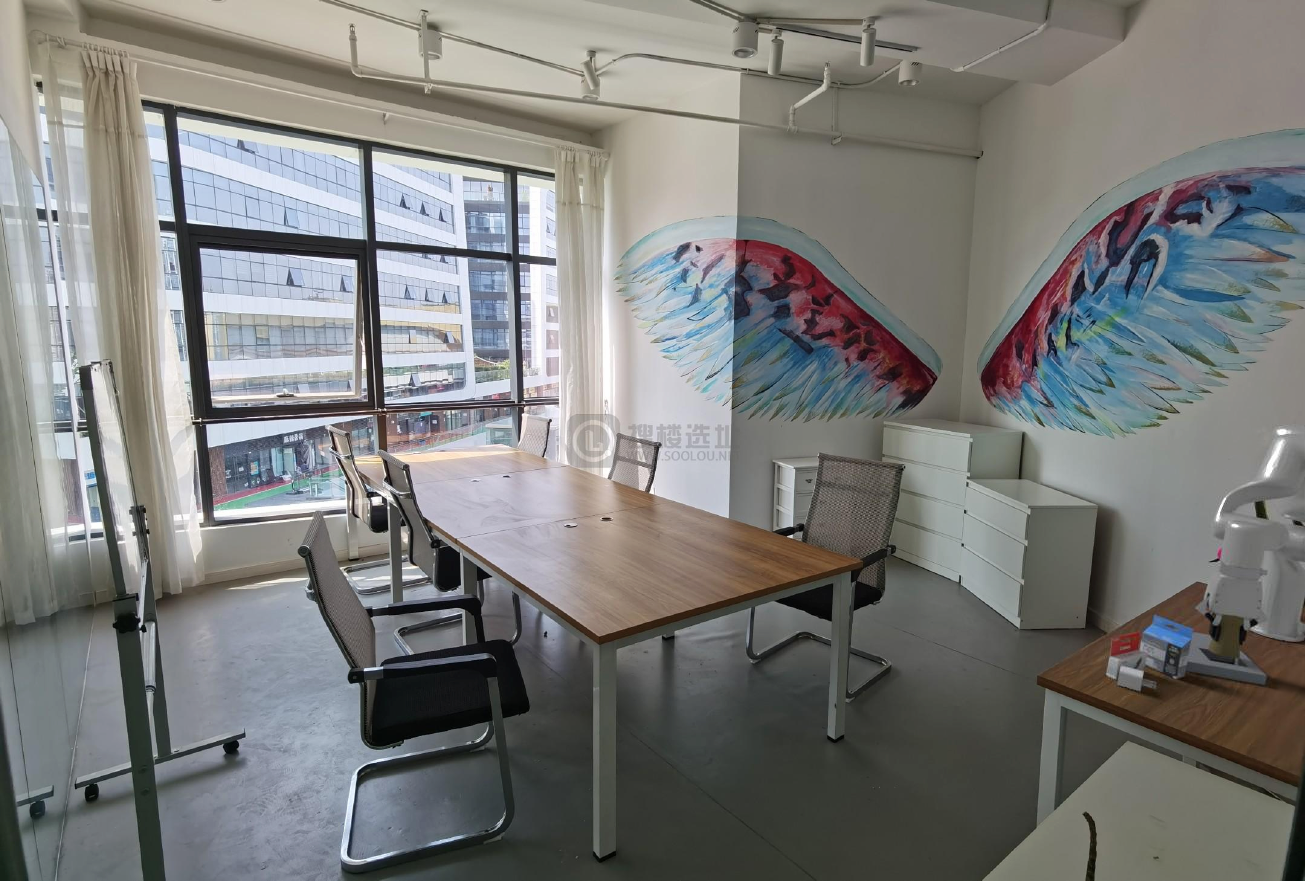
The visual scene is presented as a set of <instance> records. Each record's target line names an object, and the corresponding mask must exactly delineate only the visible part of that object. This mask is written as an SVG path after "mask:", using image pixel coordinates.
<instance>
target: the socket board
mask: <svg viewBox="0 0 1305 881" xmlns="http://www.w3.org/2000/svg"><path fill="white" fill-rule="evenodd" d="M1173 629H1174V630H1177V631H1179V629H1178V628H1173ZM1211 639H1212V638H1211V636H1210V635H1209V634H1206V633H1201V632H1194V631H1193V633H1192V638H1191V645H1190V649H1189V655H1188V660H1187V666H1186V671H1185V672H1190V673H1196V674H1201V675H1206V676H1213V677H1217V678H1223V679H1228V680H1234V681H1238V682H1239V681H1240V682H1245V683H1250V684H1256V685H1260V684H1261V686H1265V685H1266V681H1267V677H1268V676H1267V674H1265V672H1264V671H1262V669H1260V668H1259V667H1258V666H1257V665H1256V664H1255V663H1254V662H1253V660H1251V659H1250V658H1249V657H1248V656H1247V655H1246V654H1245V653H1244V652H1243V651H1241V650H1240V657H1239V658H1227V657H1223V656H1220V655H1217V654H1215V653H1213V652H1211V651H1209V649H1208V647H1209V645H1210V642H1211ZM1231 663H1232V664H1231Z"/></svg>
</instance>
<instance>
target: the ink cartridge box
mask: <svg viewBox="0 0 1305 881" xmlns="http://www.w3.org/2000/svg"><path fill="white" fill-rule="evenodd" d="M1140 634H1141V632H1140V631H1137V632H1133V633H1127V634H1124V635H1120V636H1116V637H1112V638H1111V643H1110V651H1109V652H1110V653H1109V654H1110V655H1109V659H1108V664H1107V668H1106V673H1105V675H1107V676H1106V677H1107V678H1110V677H1111V679H1112V678H1113V679H1112V680H1114V679H1115V680H1114V681H1118V677H1119V671H1120V667H1121V665H1123V666H1126V667H1130V668H1133V669H1137V670H1140V671H1145V667H1146V666H1145V663H1146V657H1147V653H1144V652H1142V651H1140V649H1139V642H1140ZM1126 638H1127V639H1129V641H1126V642H1123V640H1125V639H1126Z"/></svg>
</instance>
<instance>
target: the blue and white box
mask: <svg viewBox="0 0 1305 881" xmlns="http://www.w3.org/2000/svg"><path fill="white" fill-rule="evenodd" d="M1166 625H1168V626H1170V627H1168V626H1166ZM1171 626H1173V627H1174V628H1171ZM1174 629H1177V630H1179V631H1177V630H1174ZM1193 632H1194V628H1191V627H1189V626H1185V625H1183V624H1180V623H1177V622H1175V621H1172V620H1170V619H1167V618H1164V617H1161V616H1159V615H1156V614H1154V616H1153V620H1152V623H1151V625H1150V626H1148V627H1147V628H1146V629H1145V630H1144V631H1143V632H1142V636H1141V639H1140V640H1141V641H1140V646H1139V651H1142V652H1144V653H1147V657H1146V663H1145V667H1147V666H1148V668H1150V669H1153V670H1154V669H1155V670H1154V671H1157V672H1160V673H1161V672H1162V674H1163V675H1166V676H1168V677H1171V678H1172V677H1173V679H1175V680H1179V679H1181V678H1185V676H1186V672H1187V671H1186V666H1187V660H1188V655H1189V649H1190V645H1191V638H1192V633H1193Z"/></svg>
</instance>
